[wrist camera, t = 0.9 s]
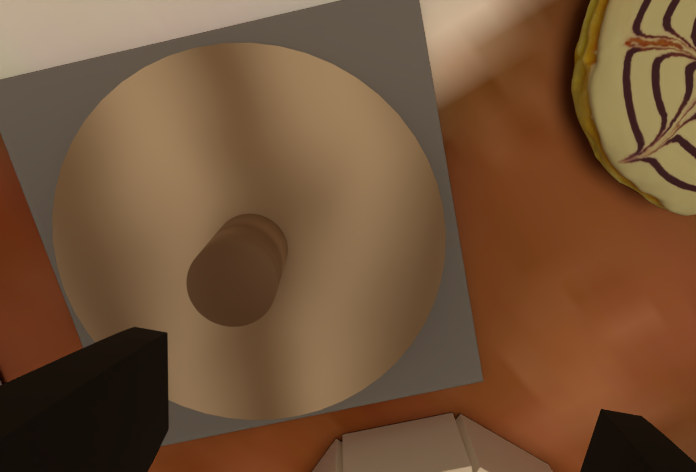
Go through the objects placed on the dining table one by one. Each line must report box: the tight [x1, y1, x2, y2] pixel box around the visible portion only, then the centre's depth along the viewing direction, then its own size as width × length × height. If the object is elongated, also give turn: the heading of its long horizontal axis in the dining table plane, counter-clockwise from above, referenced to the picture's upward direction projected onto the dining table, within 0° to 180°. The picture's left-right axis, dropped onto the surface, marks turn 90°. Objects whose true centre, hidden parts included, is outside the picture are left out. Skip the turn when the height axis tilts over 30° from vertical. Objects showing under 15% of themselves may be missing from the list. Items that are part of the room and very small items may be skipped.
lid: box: [52, 43, 446, 420], centre depth 19 cm, size 15×15×5 cm
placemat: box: [0, 0, 483, 446], centre depth 21 cm, size 16×16×1 cm
